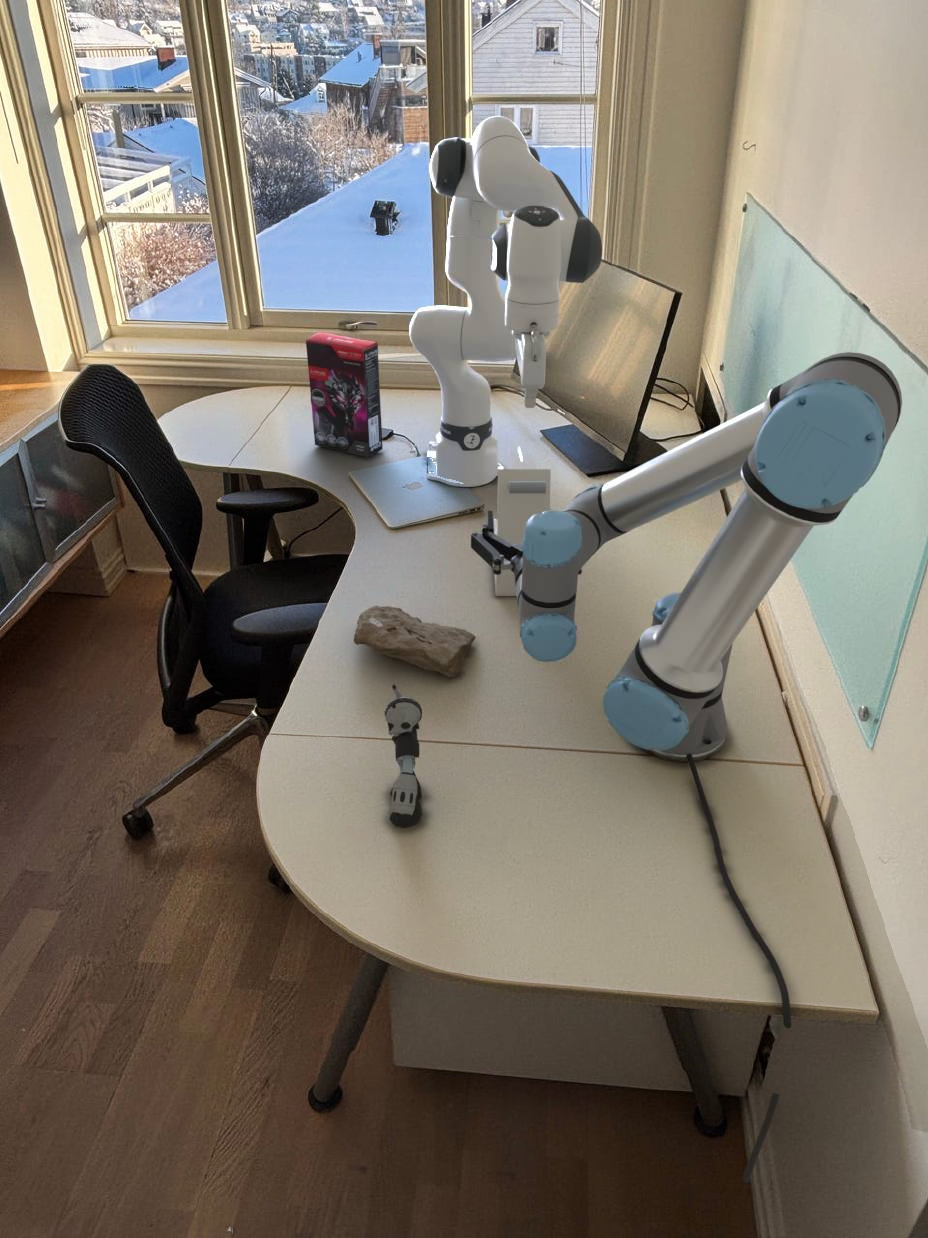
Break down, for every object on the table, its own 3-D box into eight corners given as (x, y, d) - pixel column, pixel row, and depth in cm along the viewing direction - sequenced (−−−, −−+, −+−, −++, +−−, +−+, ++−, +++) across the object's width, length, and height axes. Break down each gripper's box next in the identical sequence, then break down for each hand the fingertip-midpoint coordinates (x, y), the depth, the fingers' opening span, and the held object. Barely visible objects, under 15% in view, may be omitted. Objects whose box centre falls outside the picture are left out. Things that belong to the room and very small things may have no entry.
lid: (497, 469, 168) (500, 469, 159) (550, 469, 168) (555, 469, 160) (497, 553, 170) (499, 558, 162) (548, 553, 171) (553, 558, 162)
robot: (425, 859, 121) (422, 744, 110) (387, 860, 121) (381, 745, 110) (423, 757, 137) (420, 648, 126) (390, 758, 137) (385, 649, 126)
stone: (330, 651, 154) (336, 619, 151) (363, 622, 167) (369, 592, 165) (447, 693, 150) (456, 661, 148) (471, 659, 164) (479, 629, 161)
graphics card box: (312, 446, 233) (302, 338, 217) (328, 436, 238) (320, 330, 223) (369, 459, 226) (363, 349, 211) (384, 449, 231) (380, 341, 216)
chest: (492, 557, 187) (494, 518, 183) (539, 557, 188) (542, 519, 183) (495, 596, 175) (497, 556, 170) (546, 596, 175) (548, 556, 170)
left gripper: (556, 334, 143) (551, 418, 151) (545, 298, 160) (541, 376, 168) (516, 333, 143) (512, 418, 151) (509, 298, 160) (506, 376, 168)
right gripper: (627, 562, 135) (607, 497, 152) (456, 562, 134) (456, 497, 152) (622, 605, 139) (602, 537, 156) (456, 605, 138) (455, 537, 156)
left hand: (527, 396), depth 159 cm, fingers open, 8 cm apart
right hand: (530, 517), depth 154 cm, fingers open, 13 cm apart
